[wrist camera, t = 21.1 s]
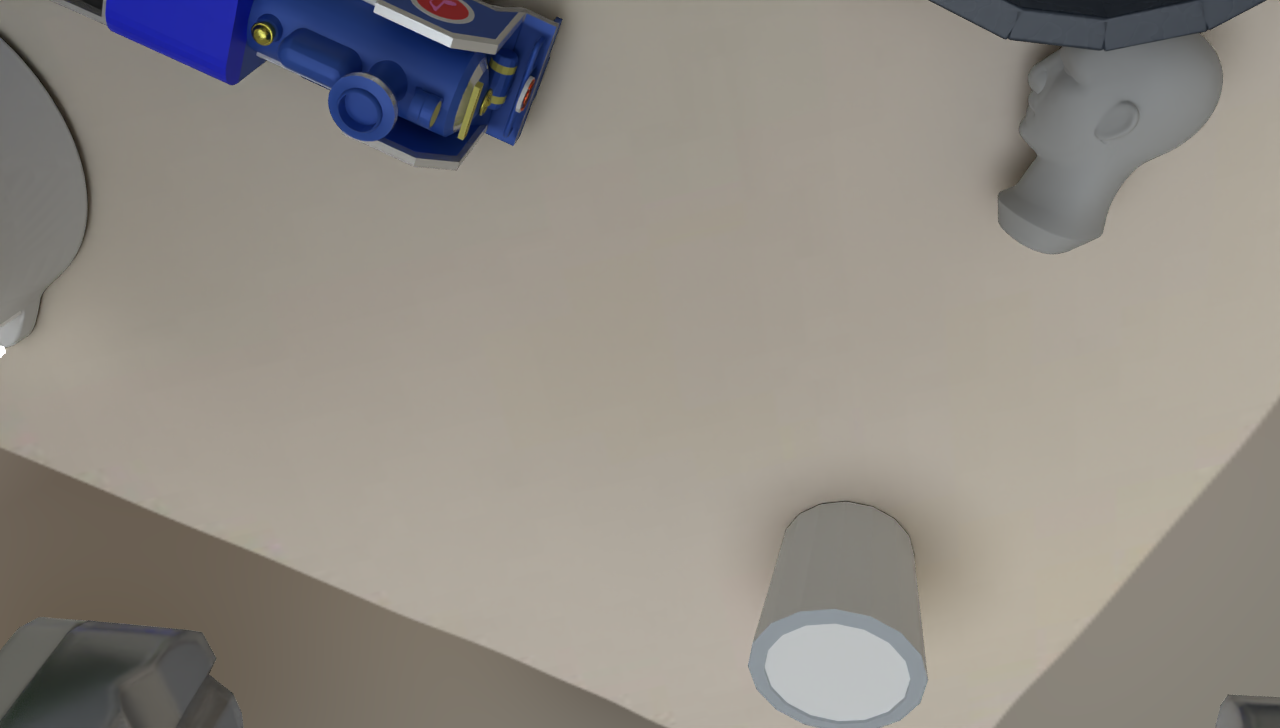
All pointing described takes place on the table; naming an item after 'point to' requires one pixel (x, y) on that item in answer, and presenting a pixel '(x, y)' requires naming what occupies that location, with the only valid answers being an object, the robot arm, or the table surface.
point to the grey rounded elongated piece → (1102, 132)
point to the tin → (1096, 19)
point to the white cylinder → (842, 621)
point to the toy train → (365, 61)
